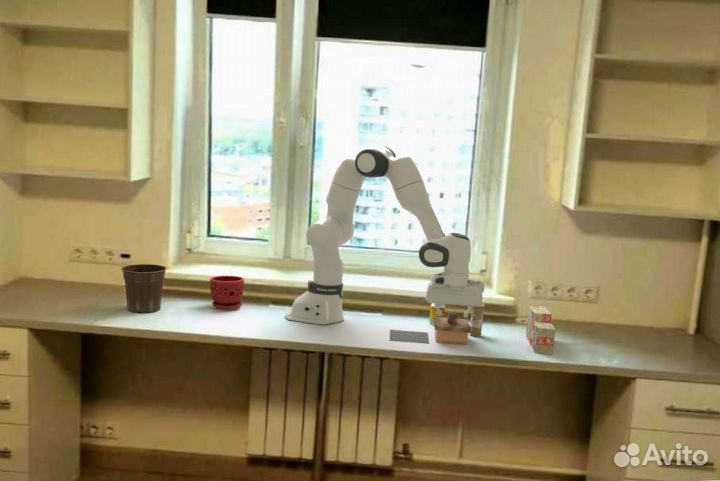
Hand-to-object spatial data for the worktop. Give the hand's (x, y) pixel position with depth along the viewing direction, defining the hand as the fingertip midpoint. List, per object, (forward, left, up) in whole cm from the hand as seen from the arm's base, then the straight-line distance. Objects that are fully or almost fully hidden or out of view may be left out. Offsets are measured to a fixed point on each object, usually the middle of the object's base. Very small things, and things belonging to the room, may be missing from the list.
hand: (452, 316), depth 254 cm
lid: (0, 0, -4) cm, 4 cm away
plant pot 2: (-87, +21, -9) cm, 90 cm away
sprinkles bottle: (+10, +9, -9) cm, 16 cm away
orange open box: (0, 0, -9) cm, 9 cm away
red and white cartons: (+32, +3, -9) cm, 34 cm away
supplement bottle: (-4, +19, -9) cm, 21 cm away
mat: (-15, -1, -9) cm, 17 cm away
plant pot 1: (-116, +9, -9) cm, 117 cm away
